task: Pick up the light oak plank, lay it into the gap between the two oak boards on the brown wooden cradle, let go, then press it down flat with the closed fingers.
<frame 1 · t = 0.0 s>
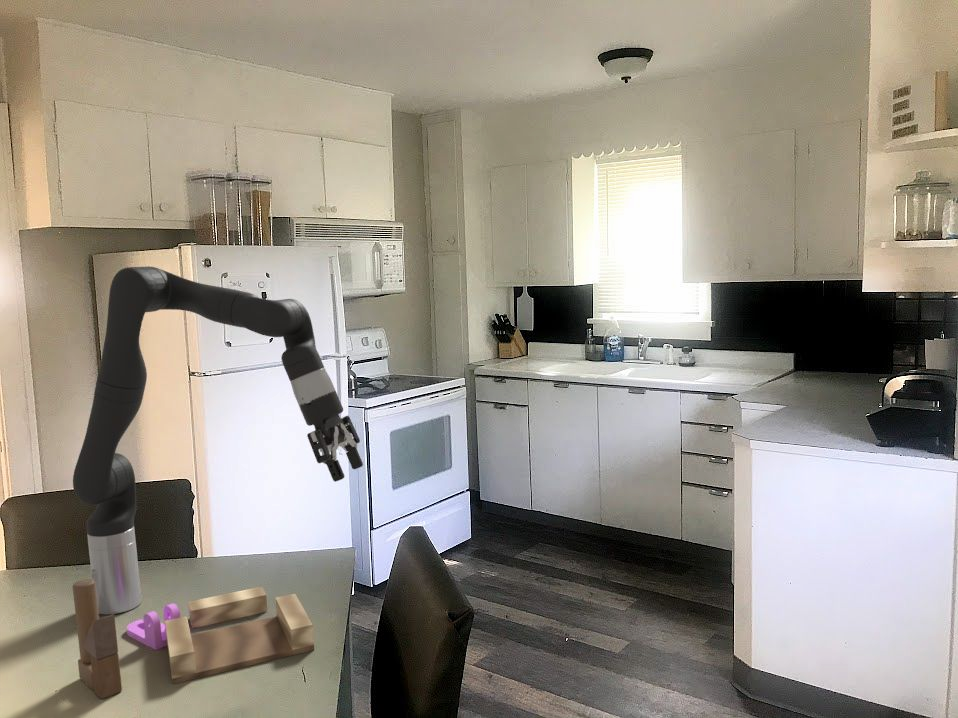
hand: (349, 473, 153), 31 cm above the table, tool tilted 20°, fingers open, 8 cm apart
oak plank: (229, 616, 166), on the table
wooden block: (100, 686, 140), on the table
brown wooden cradle: (239, 647, 151), on the table
bracket: (152, 637, 158), on the table
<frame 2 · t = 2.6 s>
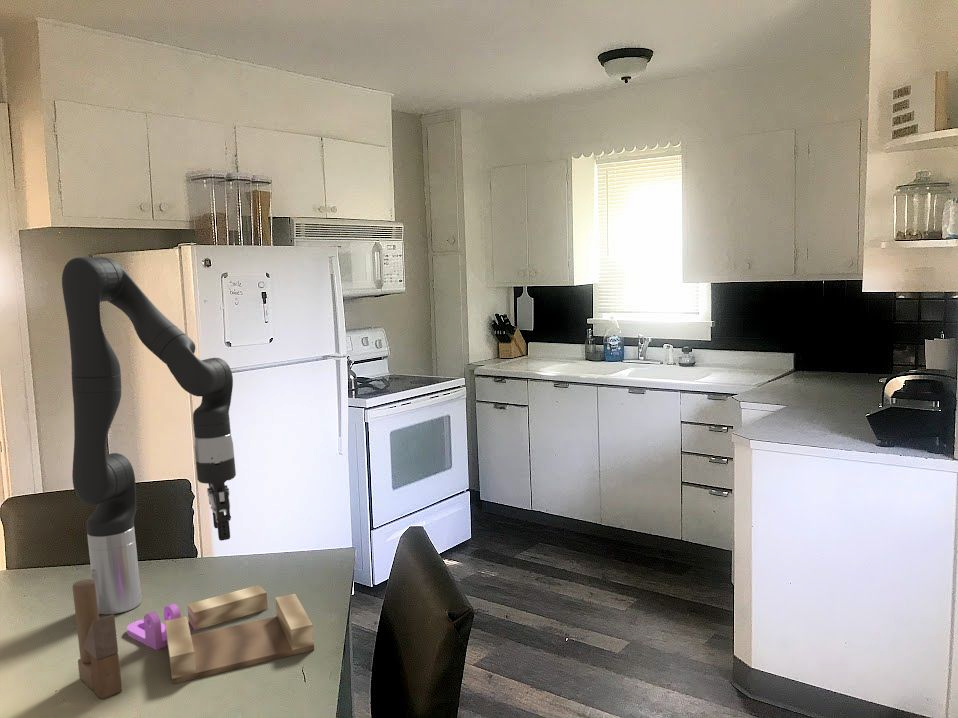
hand: (222, 533, 164), 18 cm above the table, tool pointing down, fingers open, 8 cm apart
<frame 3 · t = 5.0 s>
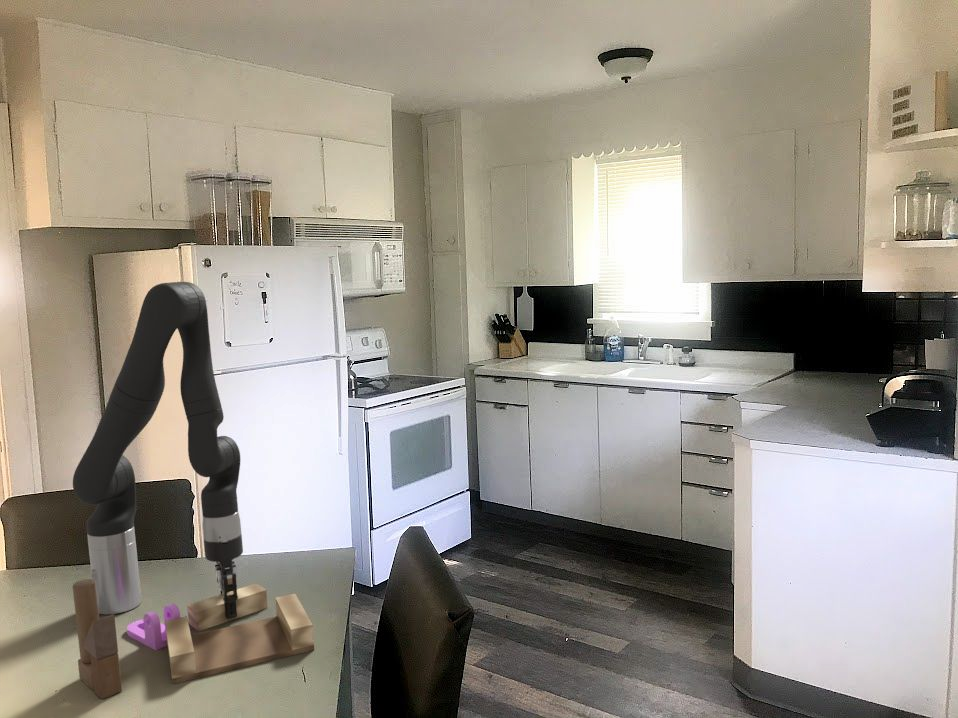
hand: (229, 611, 166), 1 cm above the table, tool pointing down, fingers closed on oak plank, 6 cm apart
oak plank: (228, 615, 166), on the table, touching gripper
everything else where it was.
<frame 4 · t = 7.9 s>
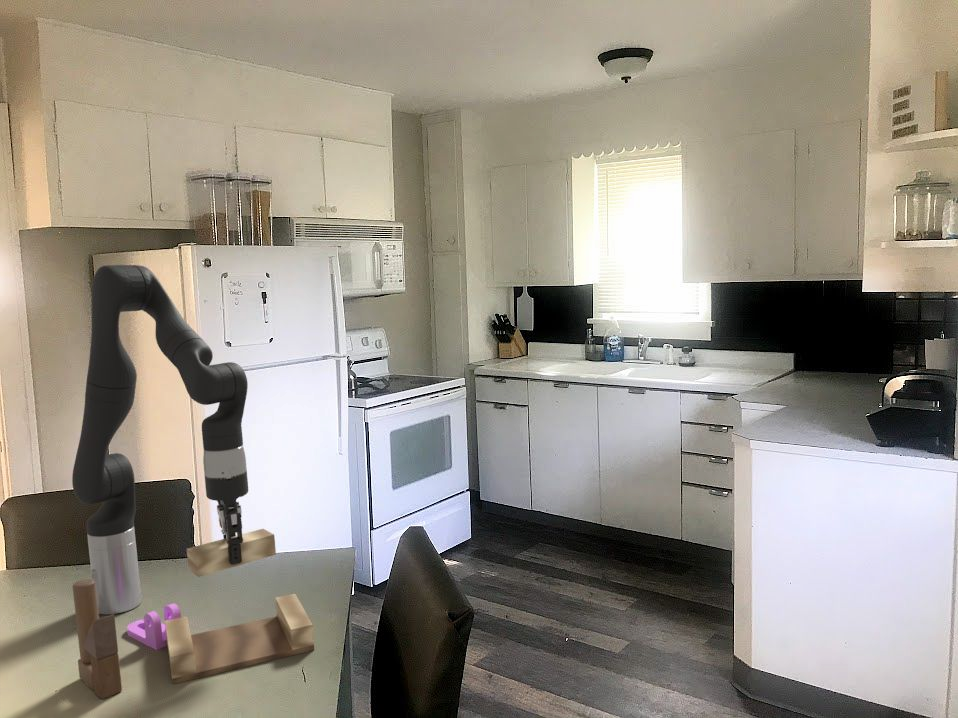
hand: (233, 557, 149), 18 cm above the table, tool pointing down, fingers closed on oak plank, 5 cm apart
oak plank: (233, 561, 149), point 17 cm above the table, touching gripper
everything else where it was.
when the fingers open (3 cm above the table, at t = 10.9 s): oak plank drops 1 cm, resting on brown wooden cradle.
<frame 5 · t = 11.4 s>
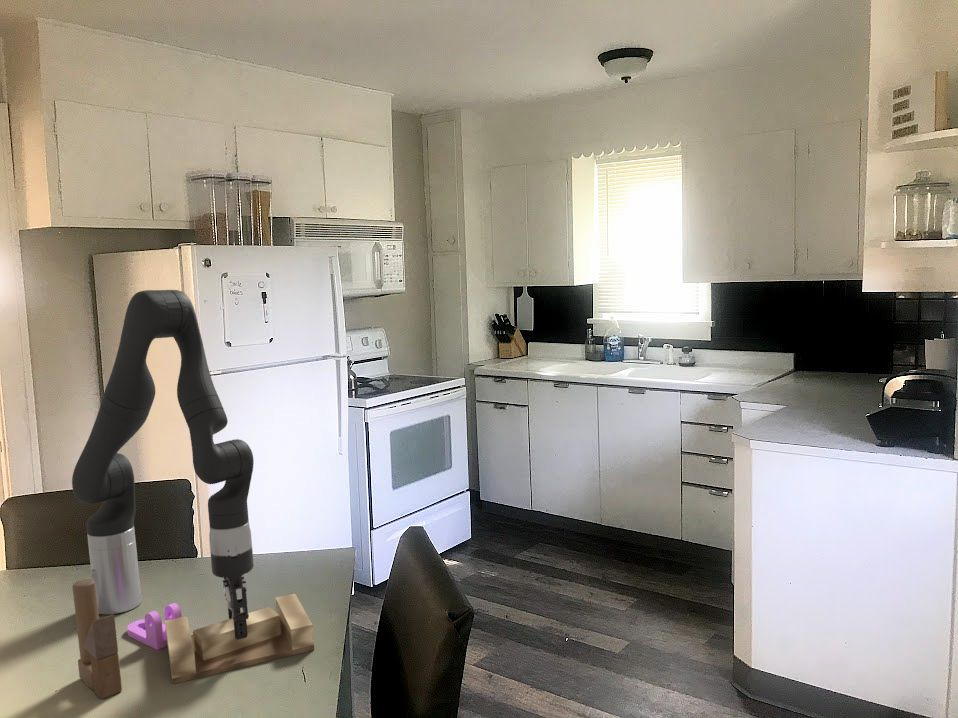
hand: (238, 628, 151), 4 cm above the table, tool pointing down, fingers open, 8 cm apart
oak plank: (238, 642, 151), point 1 cm above the table, touching brown wooden cradle
everything else where it was.
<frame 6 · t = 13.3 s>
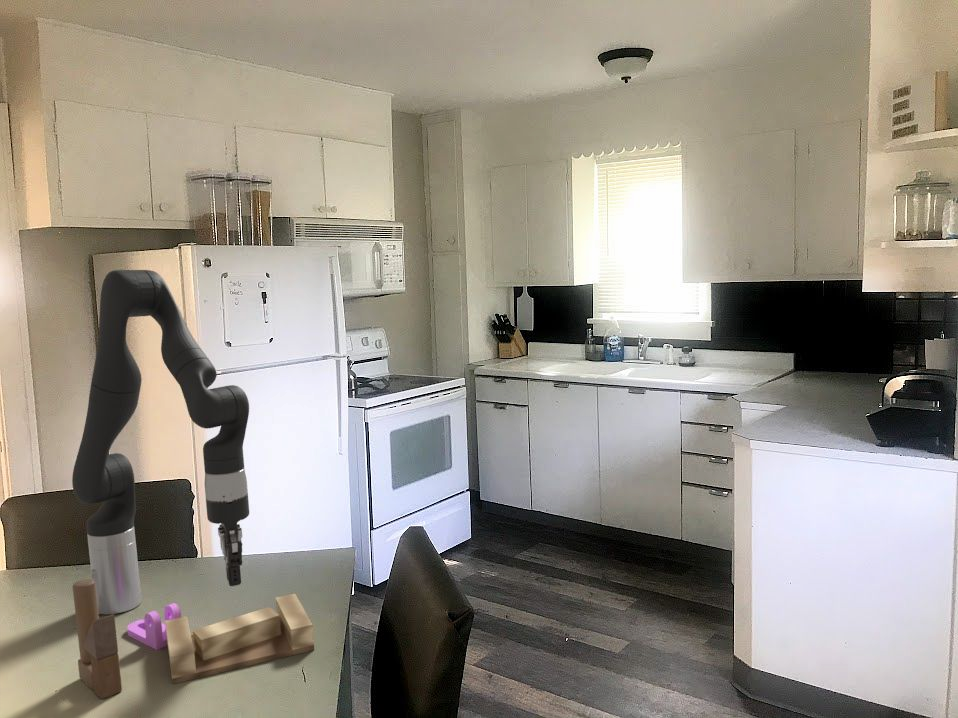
hand: (234, 582, 150), 13 cm above the table, tool pointing down, fingers closed
nothing on the table moved.
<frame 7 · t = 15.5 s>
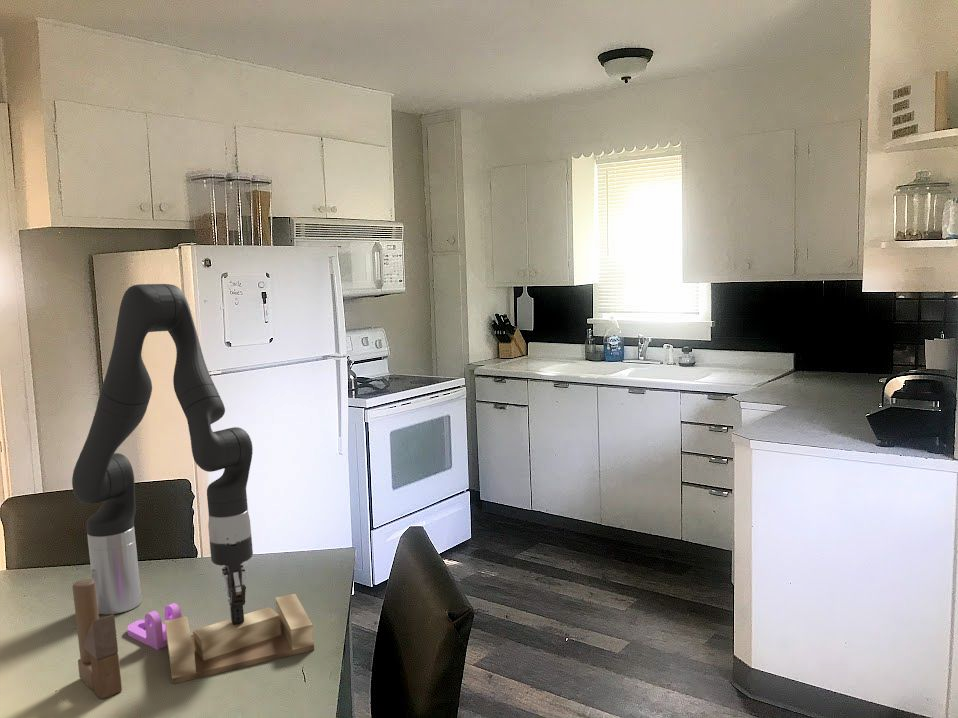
hand: (237, 622, 151), 5 cm above the table, tool pointing down, fingers closed
oak plank: (238, 642, 151), point 1 cm above the table, touching brown wooden cradle, gripper
everything else where it was.
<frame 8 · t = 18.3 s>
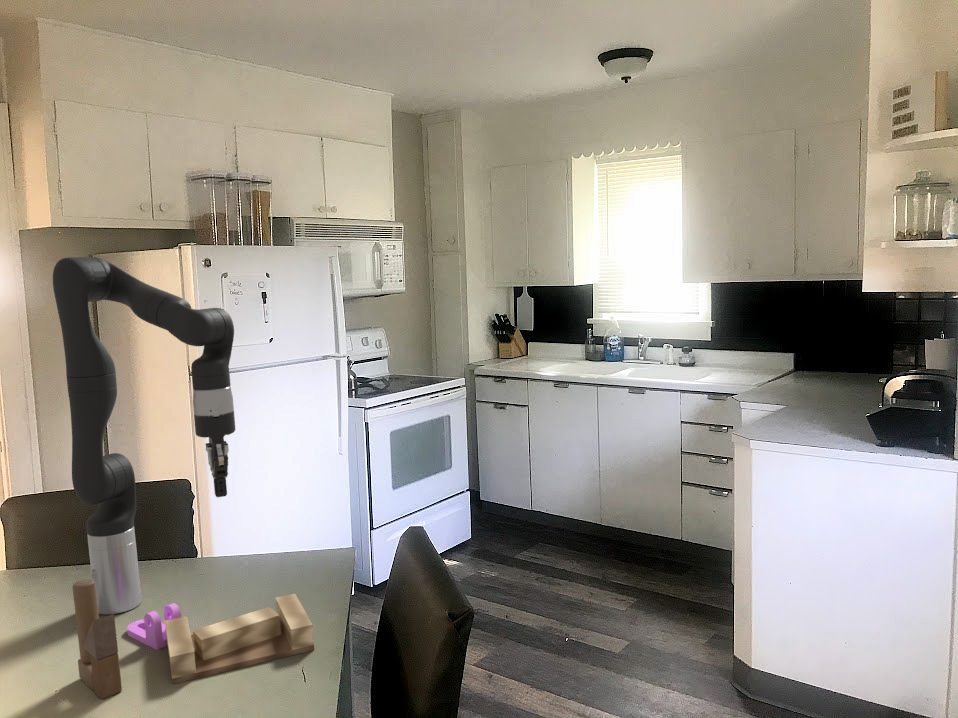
hand: (221, 495, 158), 27 cm above the table, tool pointing down, fingers closed
oak plank: (238, 642, 151), point 1 cm above the table, touching brown wooden cradle
everything else where it was.
at the end: oak plank 0.2 cm off-centre on the brown wooden cradle, point 1.0 cm above the brown wooden cradle's base; oak plank tilted 0°; the gripper is holding nothing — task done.
